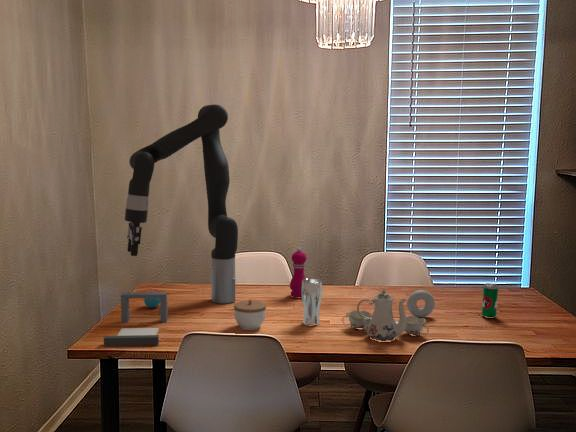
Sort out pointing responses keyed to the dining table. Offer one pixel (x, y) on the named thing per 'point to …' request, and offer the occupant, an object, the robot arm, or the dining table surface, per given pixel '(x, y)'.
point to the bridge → (160, 295)
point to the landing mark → (138, 331)
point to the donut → (418, 296)
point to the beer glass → (311, 300)
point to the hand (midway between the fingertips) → (132, 253)
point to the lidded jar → (249, 314)
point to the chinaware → (385, 319)
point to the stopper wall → (131, 340)
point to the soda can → (490, 300)
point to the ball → (152, 302)
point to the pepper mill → (298, 273)
